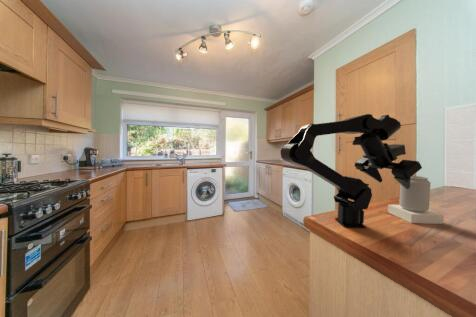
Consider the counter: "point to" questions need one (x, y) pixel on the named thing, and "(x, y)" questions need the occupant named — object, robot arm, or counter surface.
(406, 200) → the can
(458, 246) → the counter surface
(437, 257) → the counter surface
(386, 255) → the counter surface
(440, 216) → the socket block
